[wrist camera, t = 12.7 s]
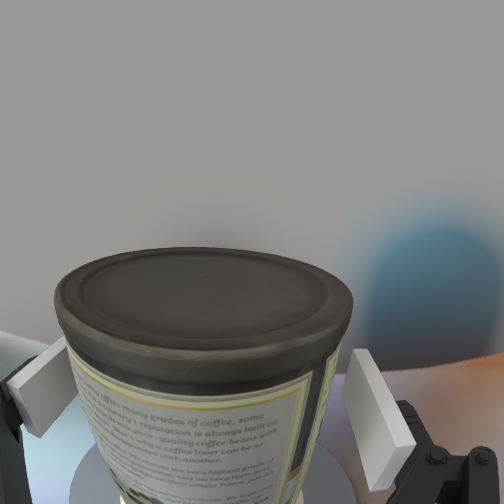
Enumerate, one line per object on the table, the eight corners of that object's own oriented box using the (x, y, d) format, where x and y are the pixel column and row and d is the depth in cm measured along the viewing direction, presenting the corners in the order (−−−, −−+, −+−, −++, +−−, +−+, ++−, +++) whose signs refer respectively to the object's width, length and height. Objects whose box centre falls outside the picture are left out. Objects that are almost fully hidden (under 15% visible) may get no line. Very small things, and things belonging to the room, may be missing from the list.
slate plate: (34, 555, 5) (25, 549, 5) (129, 399, 23) (127, 390, 23) (368, 613, 5) (376, 610, 4) (334, 422, 22) (337, 413, 22)
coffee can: (127, 440, 17) (95, 245, 14) (266, 433, 20) (288, 246, 17) (126, 564, 7) (-7, 342, 4) (319, 543, 10) (423, 326, 7)
